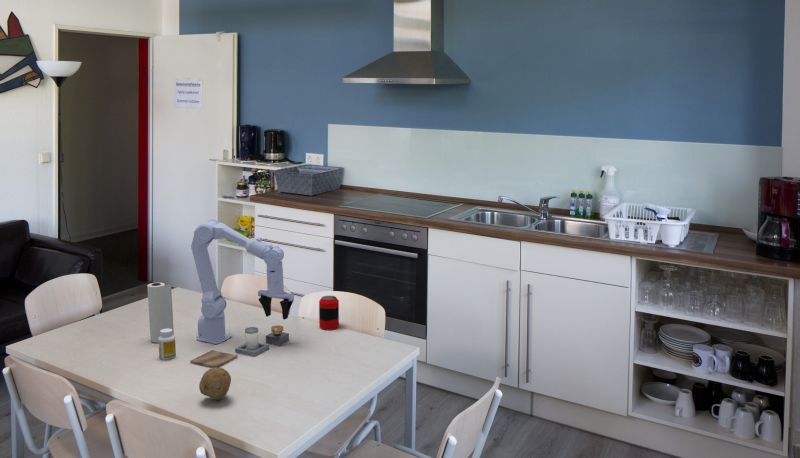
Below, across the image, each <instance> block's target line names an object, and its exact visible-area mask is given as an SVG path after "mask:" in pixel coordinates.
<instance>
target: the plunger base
mask: <svg viewBox="0 0 800 458" xmlns="http://www.w3.org/2000/svg"><path fill="white" fill-rule="evenodd" d="M289 341H290V333H289V332H284V331H282V332H280V336H275V333H274V332H270V333H268V334H267V335H265V344H267V345H271V346H277V347H280V346H283V345H284V344H287V343H288V342H289Z"/></svg>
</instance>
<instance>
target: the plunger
mask: <svg viewBox="0 0 800 458" xmlns="http://www.w3.org/2000/svg"><path fill="white" fill-rule="evenodd" d="M270 330H271V332H270V333H272V332H274V333H275V336H280V332H284V326H282V325H272V326H271V327H270Z"/></svg>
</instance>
